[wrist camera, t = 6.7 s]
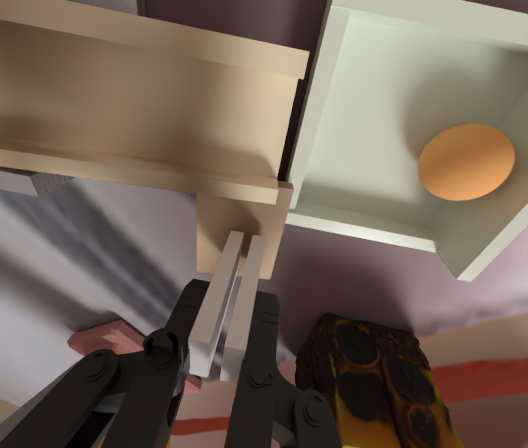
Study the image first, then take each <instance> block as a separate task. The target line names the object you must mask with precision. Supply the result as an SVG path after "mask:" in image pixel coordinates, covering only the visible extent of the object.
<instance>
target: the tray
mask: <svg viewBox="0 0 528 448" xmlns="http://www.w3.org/2000/svg"><path fill="white" fill-rule="evenodd" d="M465 124H483V125H488V126H491V127H494V128H496V129H498V130H500V131H501V132H503V133H504V134H505V135H506V136H507V137H508V138H509V139H510V141H511V142H512V144H513V147H514V151H515V161H514V166H513V168H512V170H511V172H510V174H509V176H508V177H507V179H506V180H505V181H504V182H503V183H502V184H501V185H500V186H499V187H497V188H496V189H494V190H493V191H491V192H490V193H488V194H486V195H483V196H481V197H478V198H474V199H470V200H462V201H455V200H447V199H443V198H440V197H437V196H435V195H433V194H432V193H430V192H429V191H428V190H427V189H426V188H425V187H424V186H423V185H422V183H421V181H420V179H419V176H418V171H417V165H418V160H419V157H420V155H421V153H422V151H423V149H424V148H425V147H426V145H427V144H428V143H429V142H430V141H431V140H432V139H433V138H434V137H436V136H437V135H439V134H440V133H442V132H444V131H446V130H448V129H450V128H453V127H456V126H460V125H465ZM285 182H289V183H292V184H293V188H294V191H293V195H292V199H291V203H290V206H289V210H288V214H287V218H286V222H285V223H286V224H291V225H296V226H302V227H307V228H312V229H317V230H322V231H327V232H333V233H338V234H343V235H348V236H353V237H358V238H363V239H369V240H374V241H379V242H384V243H389V244H394V245H400V246H405V247H410V248H415V249H420V250H425V251H431V252H436V253H437V254H438V256H439V257H440V258H441V260H442V261H443V262H444V264H445V265H446V266H447V267H448V269H449V270H450V271H451V273H452V274H453V275H454V277H455V278H456V279H458V280H463V281H468V282H471V281H472V280H473V279H474V278H475V277H476V276H477V275H478V274H479V273H480V272H481V271H482V270H483V269H484V268H485V267H486V266H487V265H488V264H489V263H490V262H491V261H492V260H493V259H494V258H495V257H496V256H497V255H498V254H499V253H500V252H501V251H502V250H503V249H504V248H505V247H506V246H507V245H508V244H509V243H510V242H511V241H512V240H513V239H514V238H515V237H516V236H517V235H518V234H519V233H520V232H521V231H522V230H523V229H524V228H525V227H526V226H527V225H528V14H525V13H521V12H516V11H511V10H506V9H502V8H497V7H492V6H487V5H482V4H478V3H473V2H468V1H463V0H327V3H326V8H325V12H324V16H323V20H322V25H321V29H320V33H319V37H318V42H317V46H316V50H315V54H314V59H313V63H312V67H311V71H310V76H309V80H308V84H307V88H306V93H305V97H304V101H303V105H302V110H301V114H300V118H299V122H298V127H297V131H296V135H295V139H294V144H293V148H292V152H291V156H290V161H289V165H288V169H287V173H286V178H285Z"/></svg>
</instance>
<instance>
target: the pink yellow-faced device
mask: <svg viewBox="0 0 528 448" xmlns="http://www.w3.org/2000/svg"><path fill="white" fill-rule="evenodd" d="M145 339H146V338H145V337H144V336H142V335H141V334H140V333H139V332H137V331H136V330H135V329H133V328H132V327H131V326H129V325H128V324H127V323H125V322H124V321H123V320H118V321H115V322H111V323H108V324H105V325H101V326H98V327H95V328H91V329H88V330H85V331H81V332H78V333H75V334H72V336H71V337H70V338H69V340H68V341H67V342H68V345H69V347H70V348H72V349H73V350H75V351H77V352H78V353H80V354H81V355H83V356H86V355H87V354H89V353H91V352H93V351H96V350H100V349H109V350H112V351H114V352H115V353H116V354H117V355H119V354H126V353H133V352H138V351H142V350H144V348H143V344H142V343H143V341H144V340H145ZM77 363H78V362H76V363H75V364H74V365H73V366H71V367H70V368H69V369H68V370H66V371H65V372H64V373H63V374H61V375H60V376H59V377H58V378H56V379H55V380H54V381H53V382H52V383H50V384H49V385H48V386H47V387H45V388H44V389H43V390H42V391H40V392H39V393H38V394H37V395H35V396H34V397H33V398H32V399H31V400H29V401H28V402H27V403H26V404H24V405H23V406H22V407H21V408H19V409H18V410H17V411H16V412H14V413H13V414H12V415H11V416H9V417H8V418H7V419H6V420H5V421H3V422H2V423H1V424H0V442H1V441H2V440H3V439H4V438H5V437H6V436H7V435H8V434H9V433H10V432H11V431H12V430H13V429H14V427H15V426H16V425H17V424H18V423H19V422H20V421H21V420H22V419H23V418H24V417H25V416H26V415H27V414H28V413H29V412H30V411H31V410H32V409H33V408H34V407H35V406H36V405H37V404H38V403H39V402H40V401H41V400H42V399H43V398H44V397H45V396H46V395H47V394H48V393H49V392H50V391H51V390H52V388H53V387H54V386H55V385H56V384H57V383H58V382H59V381H60V380H61V379H62V378H63V377H64V376H65V375H66V374H67V373H68V372H69V371H70V370H71V369H72V368H73V367H74V366H75V365H76V364H77ZM201 385H202V381H201V379H199V378H198V377H197V376H195V375H193V374H190V373H189V372H188V375H187V378H186V381H185V388H184V393H183V395H187V394H195V393H197V392H199V391H200V388H201ZM170 437H171V434H170ZM170 437H169V440H168V444H167V447H166V448H169V445H170ZM104 438H105V437H104ZM104 438H103V440H104ZM103 440H102V441H101V443H100V444H99V446H98V447H97V448H100V447H101V444H102V442H103Z"/></svg>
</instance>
